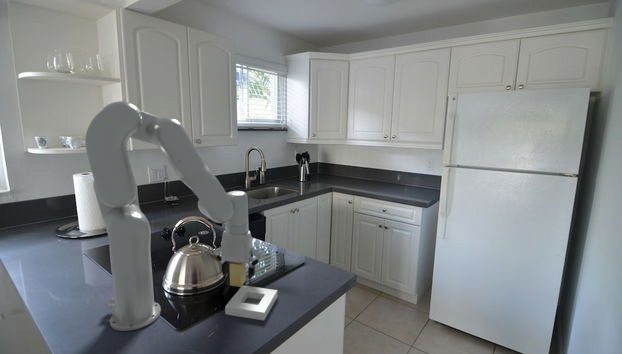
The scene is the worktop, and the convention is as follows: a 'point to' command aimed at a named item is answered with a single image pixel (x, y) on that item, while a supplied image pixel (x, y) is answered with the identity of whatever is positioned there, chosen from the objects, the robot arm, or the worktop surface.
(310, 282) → the worktop surface
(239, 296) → the socket housing
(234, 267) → the plug block
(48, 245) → the worktop surface
